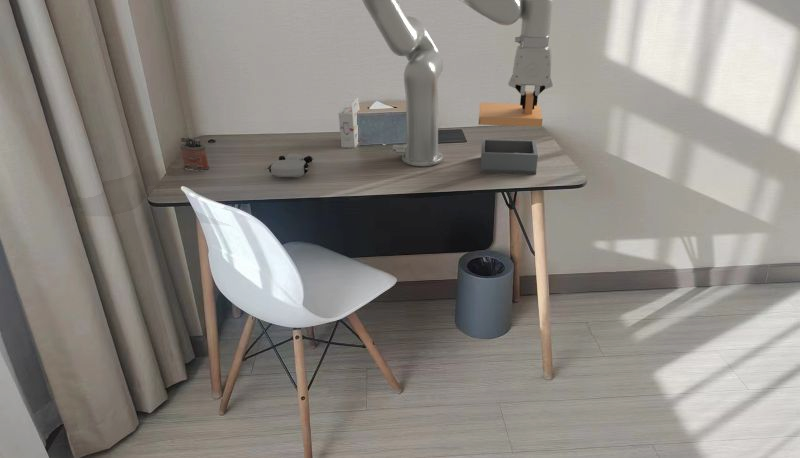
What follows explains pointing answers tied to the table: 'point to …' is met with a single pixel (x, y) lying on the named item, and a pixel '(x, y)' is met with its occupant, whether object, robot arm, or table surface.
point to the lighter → (194, 154)
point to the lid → (511, 113)
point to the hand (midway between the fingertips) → (528, 107)
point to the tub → (508, 156)
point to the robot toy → (290, 166)
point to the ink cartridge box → (349, 125)
